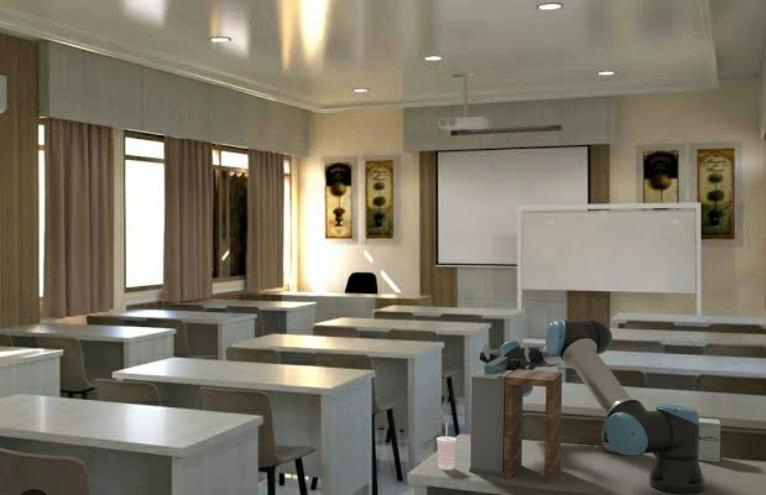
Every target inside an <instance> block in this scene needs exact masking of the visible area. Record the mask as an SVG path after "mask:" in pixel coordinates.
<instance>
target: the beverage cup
mask: <svg viewBox="0 0 766 495" xmlns="http://www.w3.org/2000/svg"><path fill="white" fill-rule="evenodd" d="M436 443H437V458H438V459H437V460H438V464H437V465H438V469H440V470H442V471H443V470H444V471H445V470H446V471H451V470H453V469H454V466H455V455H456V453H455V452H456V443H457V438H455V437H454V436H448V422H445V436H438V437H437V438H436Z"/></svg>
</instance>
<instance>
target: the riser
mask: <svg viewBox="0 0 766 495" xmlns="http://www.w3.org/2000/svg"><path fill="white" fill-rule="evenodd" d="M523 385H527V386H533V387H543V388H545V418H544V419H545V421H544V422H545V423H544V424H545V425H544V428H545V430H544V431H545V432H544V477H543V478H544V481H543V482H544V483H545V484H553V482H554V480H555V479H556V477H557V475H558V474H559V472H560V471H561V465H562V463H561V462H562V461H561V459H562V458H561V454H562V453H561V452H562V451H561V450H562V447H561V446H562V398H563V396H562V394H563V393H562V392H563V390H562V389H563V387H562V386H563V372H562V371H561V372H560V371H551V370H550V371H549V370H548V371H547V370H535V369H534V370H521V369H517V370H515V371H514V372H512V373H511V374H509V375H508V376H506V377H505V433H504V475H503V479H507V480H508V479H509V480H511V479H512V478H513V476H514V475H516V473H517V471H518V470H520V468H521V467H522V466H523V465H522V464H523V458H522V457H523V411H524V410H523V408H524V406H523V405H524V404H523V403H524V397H523Z"/></svg>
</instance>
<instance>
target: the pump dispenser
mask: <svg viewBox="0 0 766 495" xmlns="http://www.w3.org/2000/svg"><path fill="white" fill-rule="evenodd" d="M606 418H607V416H606V417H605V420H604V423H603V427H602V433H601V441H602V444H603V446H604V448H605V449H606V450H607V451H608V452H610V453H612V454H620V453H619V452H617V451H616V450H615V449H614V448H613V447H612V446H611V445H610V443H609V441H608V439H607V436H608V434H607V433H606V429H605V428H606Z"/></svg>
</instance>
